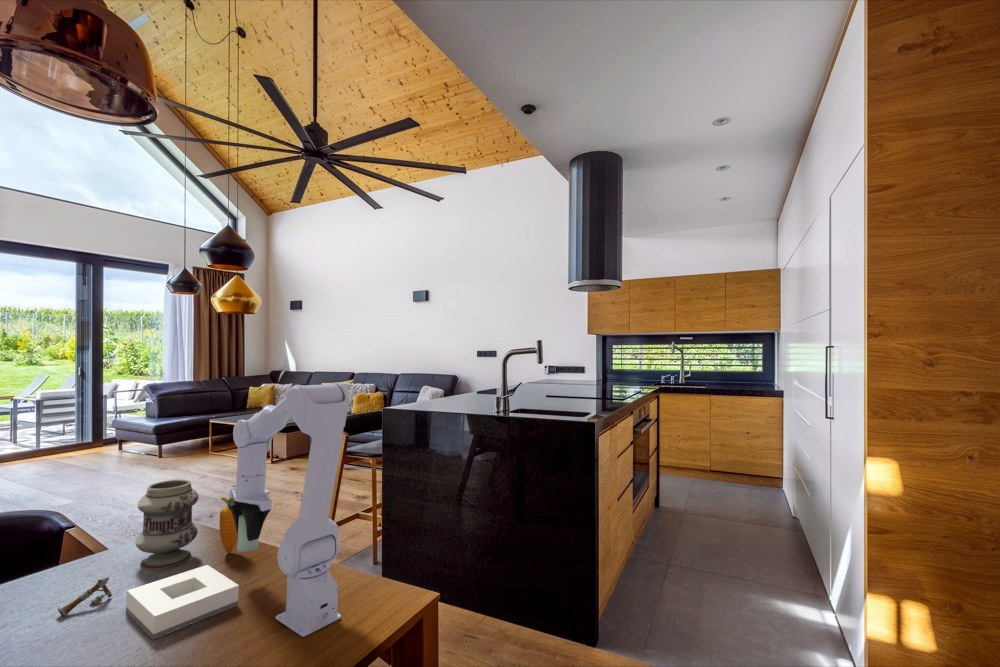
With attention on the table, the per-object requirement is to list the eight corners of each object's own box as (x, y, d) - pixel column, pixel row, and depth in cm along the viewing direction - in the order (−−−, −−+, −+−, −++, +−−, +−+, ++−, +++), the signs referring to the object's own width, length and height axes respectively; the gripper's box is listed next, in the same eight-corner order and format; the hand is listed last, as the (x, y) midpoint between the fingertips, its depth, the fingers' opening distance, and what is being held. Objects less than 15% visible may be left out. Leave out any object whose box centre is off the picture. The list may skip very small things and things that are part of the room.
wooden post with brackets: (118, 592, 94) (109, 575, 93) (72, 628, 87) (61, 610, 86) (113, 590, 95) (104, 573, 93) (67, 625, 88) (56, 607, 87)
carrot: (233, 557, 113) (236, 494, 113) (212, 557, 113) (216, 494, 113) (244, 549, 118) (247, 489, 118) (225, 548, 118) (228, 488, 118)
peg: (261, 547, 103) (262, 515, 103) (242, 553, 99) (244, 520, 100) (252, 542, 105) (253, 511, 105) (233, 548, 102) (235, 516, 102)
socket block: (237, 605, 92) (238, 585, 92) (153, 640, 80) (154, 616, 81) (206, 583, 100) (207, 564, 100) (125, 612, 89) (126, 590, 89)
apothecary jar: (151, 551, 115) (156, 477, 116) (205, 548, 117) (209, 476, 118) (121, 574, 103) (126, 491, 104) (181, 570, 105) (186, 490, 106)
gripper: (286, 476, 102) (283, 539, 101) (253, 465, 110) (250, 523, 110) (253, 482, 96) (250, 550, 96) (221, 471, 105) (218, 532, 104)
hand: (248, 536), depth 102 cm, fingers closed on peg, 4 cm apart
